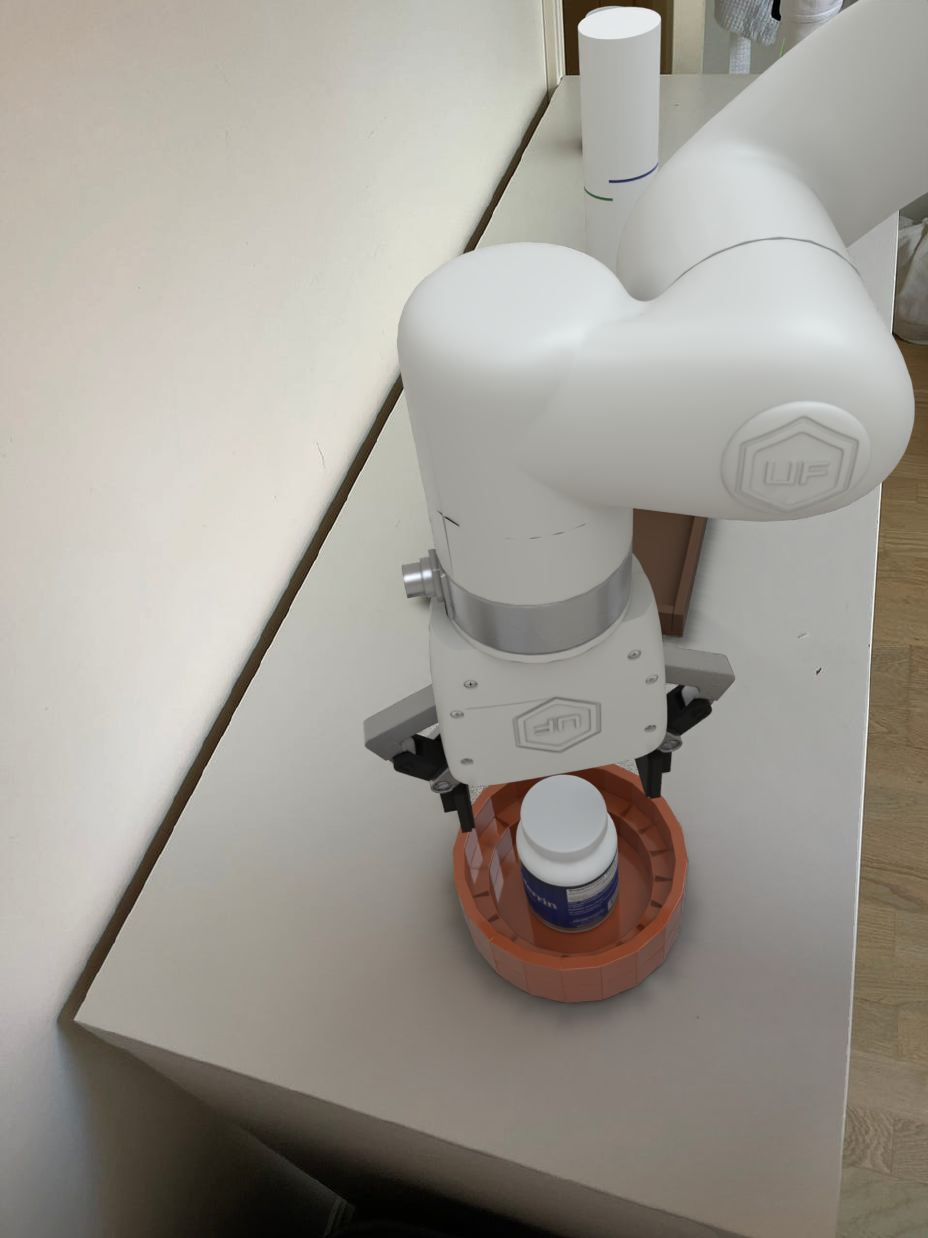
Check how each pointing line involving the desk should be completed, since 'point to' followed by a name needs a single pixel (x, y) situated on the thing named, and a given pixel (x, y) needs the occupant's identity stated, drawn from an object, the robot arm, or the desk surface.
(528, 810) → the pill bottle
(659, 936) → the bowl
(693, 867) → the desk surface
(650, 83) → the cylindrical container
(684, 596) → the tray
